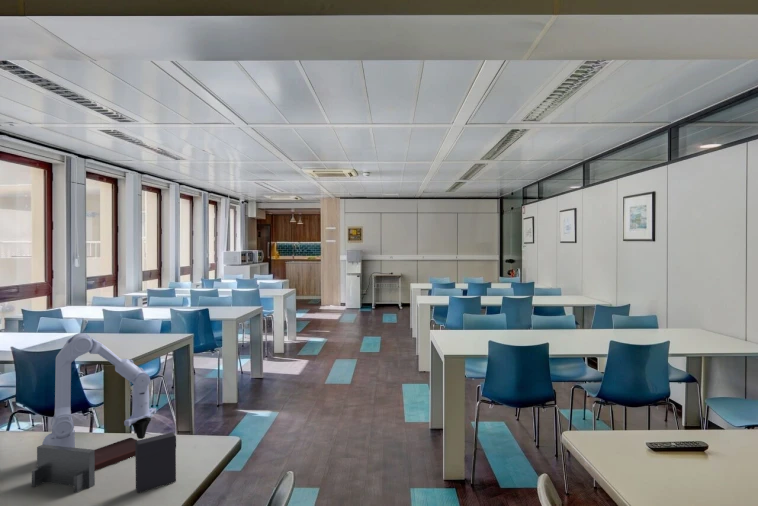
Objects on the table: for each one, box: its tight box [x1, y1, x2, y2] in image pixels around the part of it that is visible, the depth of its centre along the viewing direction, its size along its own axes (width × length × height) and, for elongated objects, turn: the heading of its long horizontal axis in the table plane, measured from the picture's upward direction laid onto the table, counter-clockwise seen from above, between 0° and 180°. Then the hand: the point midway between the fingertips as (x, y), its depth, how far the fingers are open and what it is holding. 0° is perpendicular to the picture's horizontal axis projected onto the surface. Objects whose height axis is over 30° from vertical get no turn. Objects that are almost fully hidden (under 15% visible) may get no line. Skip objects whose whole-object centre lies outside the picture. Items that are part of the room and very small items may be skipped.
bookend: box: [31, 444, 96, 493], centre depth 142 cm, size 20×5×11 cm, turn 77°
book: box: [94, 437, 139, 472], centre depth 162 cm, size 12×19×3 cm, turn 145°
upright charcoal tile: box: [134, 432, 177, 494], centre depth 142 cm, size 11×4×15 cm, turn 128°
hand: (141, 438), depth 175 cm, fingers closed
